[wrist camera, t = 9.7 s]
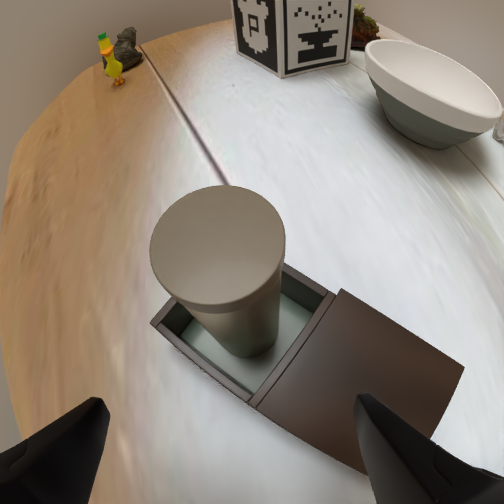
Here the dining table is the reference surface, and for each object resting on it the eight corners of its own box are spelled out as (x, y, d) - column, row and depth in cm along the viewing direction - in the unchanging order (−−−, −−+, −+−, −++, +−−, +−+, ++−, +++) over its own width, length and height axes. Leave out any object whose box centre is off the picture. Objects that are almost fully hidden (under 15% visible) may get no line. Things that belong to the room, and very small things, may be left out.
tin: (253, 371, 20) (224, 336, 9) (201, 332, 22) (124, 253, 10) (292, 319, 22) (312, 223, 10) (241, 284, 23) (209, 168, 12)
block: (299, 39, 49) (298, -21, 36) (348, 63, 42) (355, -8, 29) (236, 53, 46) (228, -14, 33) (280, 78, 39) (277, -7, 26)
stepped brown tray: (375, 474, 15) (397, 489, 11) (170, 337, 22) (148, 322, 18) (435, 374, 19) (465, 367, 15) (242, 252, 25) (235, 223, 21)
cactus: (342, 25, 55) (344, -5, 47) (395, 46, 49) (401, 12, 40) (300, 35, 50) (300, -2, 42) (361, 56, 44) (366, 15, 36)
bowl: (387, 78, 40) (395, 32, 31) (483, 136, 32) (504, 92, 24) (329, 117, 34) (336, 53, 25) (461, 200, 26) (498, 141, 18)
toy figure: (129, 85, 44) (111, 33, 33) (112, 93, 43) (91, 42, 33) (126, 74, 47) (109, 28, 36) (110, 82, 46) (92, 35, 36)
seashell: (152, 36, 43) (148, 27, 48) (98, 29, 36) (100, 21, 41) (136, 81, 51) (133, 67, 55) (85, 77, 44) (88, 63, 48)
